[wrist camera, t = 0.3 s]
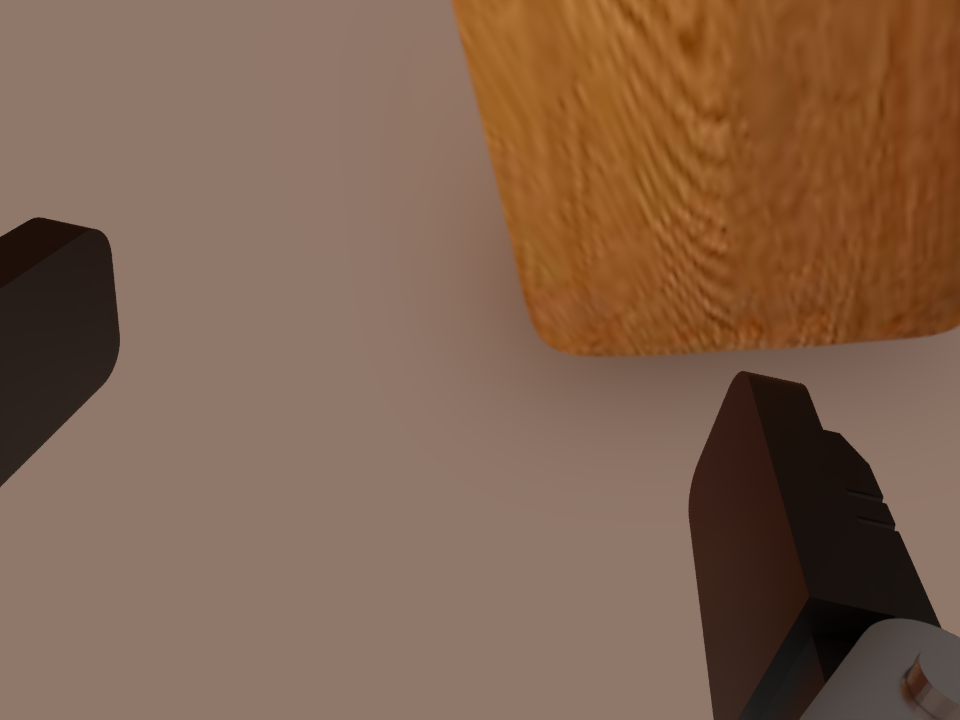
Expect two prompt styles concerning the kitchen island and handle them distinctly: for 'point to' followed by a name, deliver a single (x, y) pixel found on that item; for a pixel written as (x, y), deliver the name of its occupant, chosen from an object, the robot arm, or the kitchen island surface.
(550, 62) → the kitchen island surface
